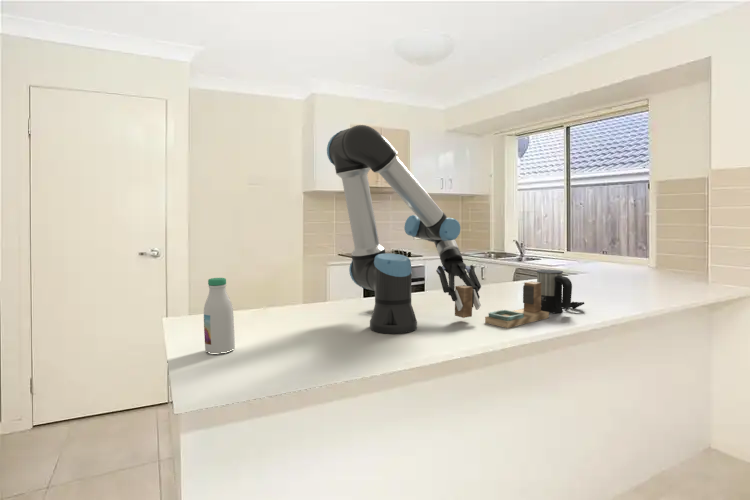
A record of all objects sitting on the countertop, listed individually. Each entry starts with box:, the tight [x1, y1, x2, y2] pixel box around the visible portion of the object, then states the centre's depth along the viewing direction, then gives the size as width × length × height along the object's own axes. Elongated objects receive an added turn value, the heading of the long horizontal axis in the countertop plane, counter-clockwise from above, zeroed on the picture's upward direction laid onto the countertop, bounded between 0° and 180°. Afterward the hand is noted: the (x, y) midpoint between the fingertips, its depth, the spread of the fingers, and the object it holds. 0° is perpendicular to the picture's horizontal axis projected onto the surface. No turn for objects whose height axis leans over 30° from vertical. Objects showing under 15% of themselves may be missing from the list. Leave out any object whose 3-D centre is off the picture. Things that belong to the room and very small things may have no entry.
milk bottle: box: [203, 277, 236, 353], centre depth 124 cm, size 8×8×20 cm
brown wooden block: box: [454, 284, 474, 319], centre depth 153 cm, size 5×4×10 cm
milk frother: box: [536, 269, 585, 314], centre depth 167 cm, size 14×16×15 cm
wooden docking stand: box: [484, 281, 550, 329], centre depth 153 cm, size 22×9×12 cm, turn 125°
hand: (469, 308), depth 149 cm, fingers closed on brown wooden block, 6 cm apart
